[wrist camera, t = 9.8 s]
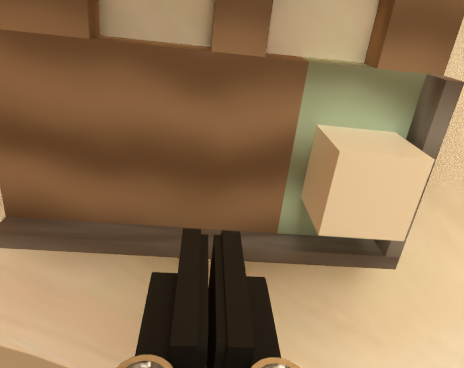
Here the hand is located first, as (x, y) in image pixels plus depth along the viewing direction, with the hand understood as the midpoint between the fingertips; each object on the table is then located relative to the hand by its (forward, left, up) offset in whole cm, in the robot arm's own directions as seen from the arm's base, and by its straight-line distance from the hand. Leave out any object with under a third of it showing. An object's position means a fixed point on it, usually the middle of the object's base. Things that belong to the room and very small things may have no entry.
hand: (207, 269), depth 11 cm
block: (+1, +9, -13) cm, 15 cm away
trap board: (-2, 0, -15) cm, 15 cm away
